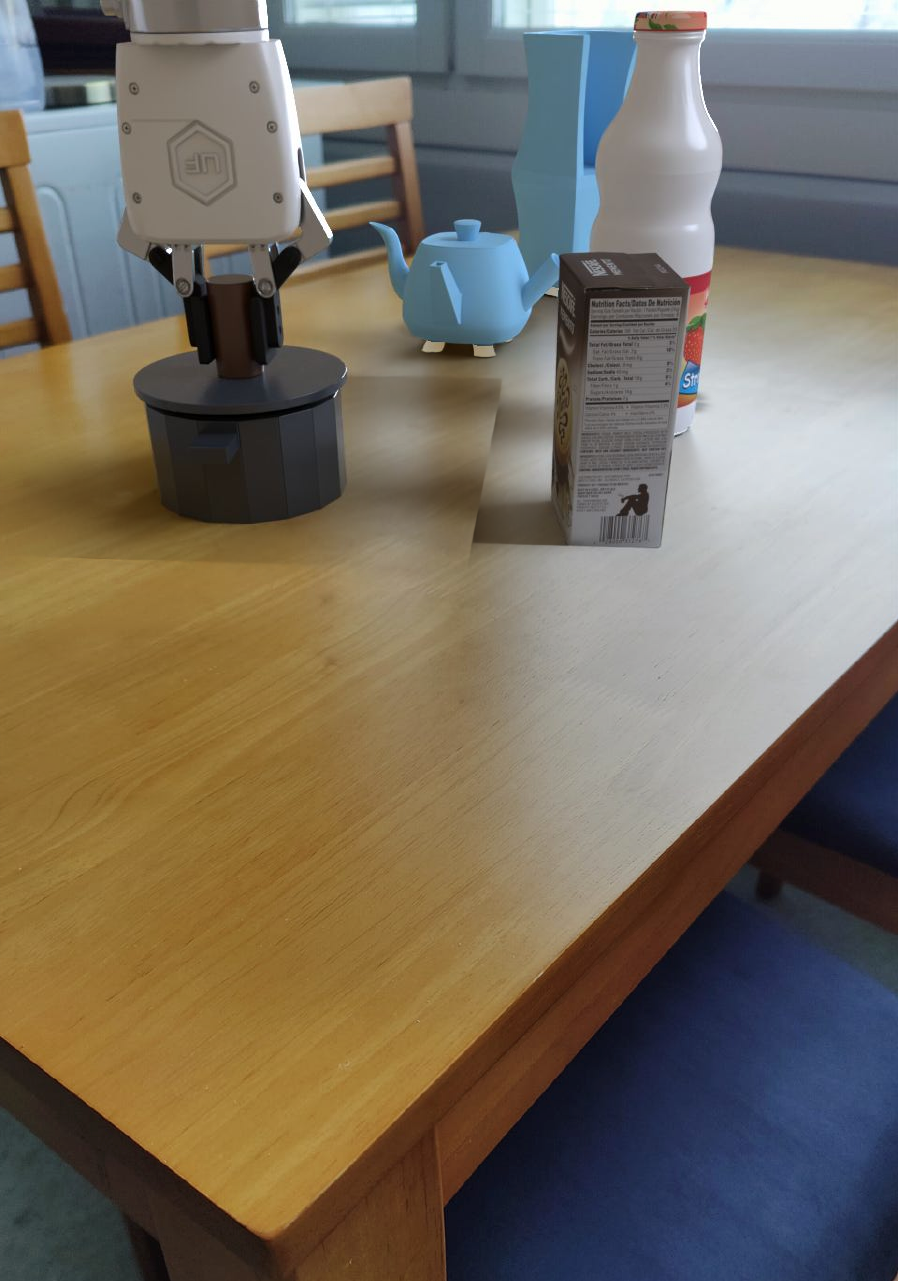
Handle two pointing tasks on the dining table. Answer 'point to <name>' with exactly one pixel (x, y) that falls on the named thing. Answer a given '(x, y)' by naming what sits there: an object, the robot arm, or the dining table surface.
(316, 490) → the pot
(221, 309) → the lid
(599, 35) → the vase
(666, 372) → the coffee box
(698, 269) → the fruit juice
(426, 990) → the dining table surface
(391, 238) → the teapot
